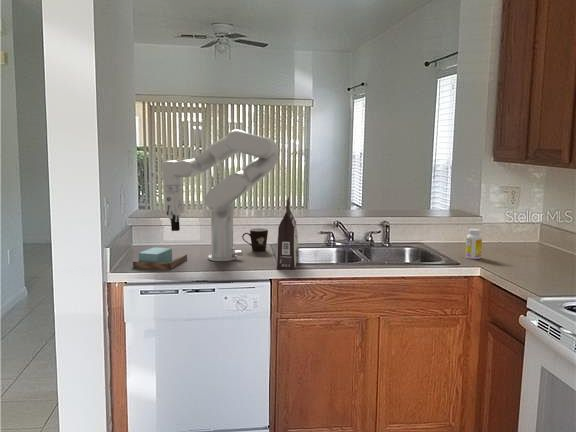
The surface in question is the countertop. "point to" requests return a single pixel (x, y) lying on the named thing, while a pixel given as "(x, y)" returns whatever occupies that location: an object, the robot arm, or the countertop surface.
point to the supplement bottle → (473, 244)
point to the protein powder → (287, 242)
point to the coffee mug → (258, 239)
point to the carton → (156, 255)
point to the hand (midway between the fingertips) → (175, 230)
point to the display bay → (160, 264)
